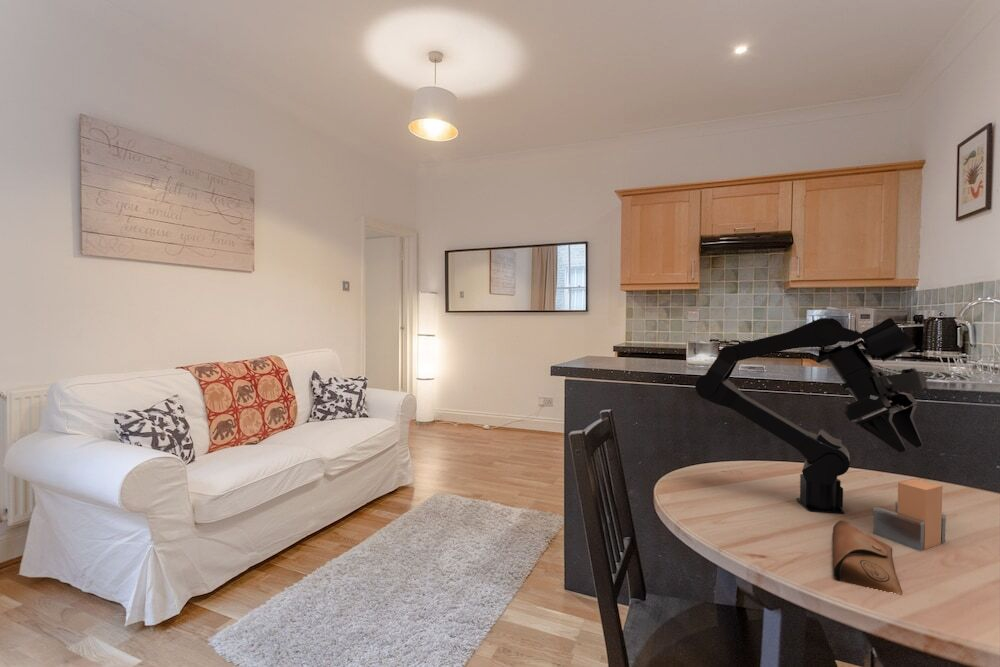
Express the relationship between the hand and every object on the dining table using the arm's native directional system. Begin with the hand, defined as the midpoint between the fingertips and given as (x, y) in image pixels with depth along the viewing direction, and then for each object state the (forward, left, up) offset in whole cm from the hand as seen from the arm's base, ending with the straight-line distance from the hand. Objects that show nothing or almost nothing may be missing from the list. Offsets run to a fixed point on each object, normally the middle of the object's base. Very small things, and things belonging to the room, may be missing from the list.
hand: (911, 449), depth 87 cm
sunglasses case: (-14, -14, -16) cm, 25 cm away
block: (-1, -4, -15) cm, 16 cm away
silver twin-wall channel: (-2, -3, -15) cm, 16 cm away
